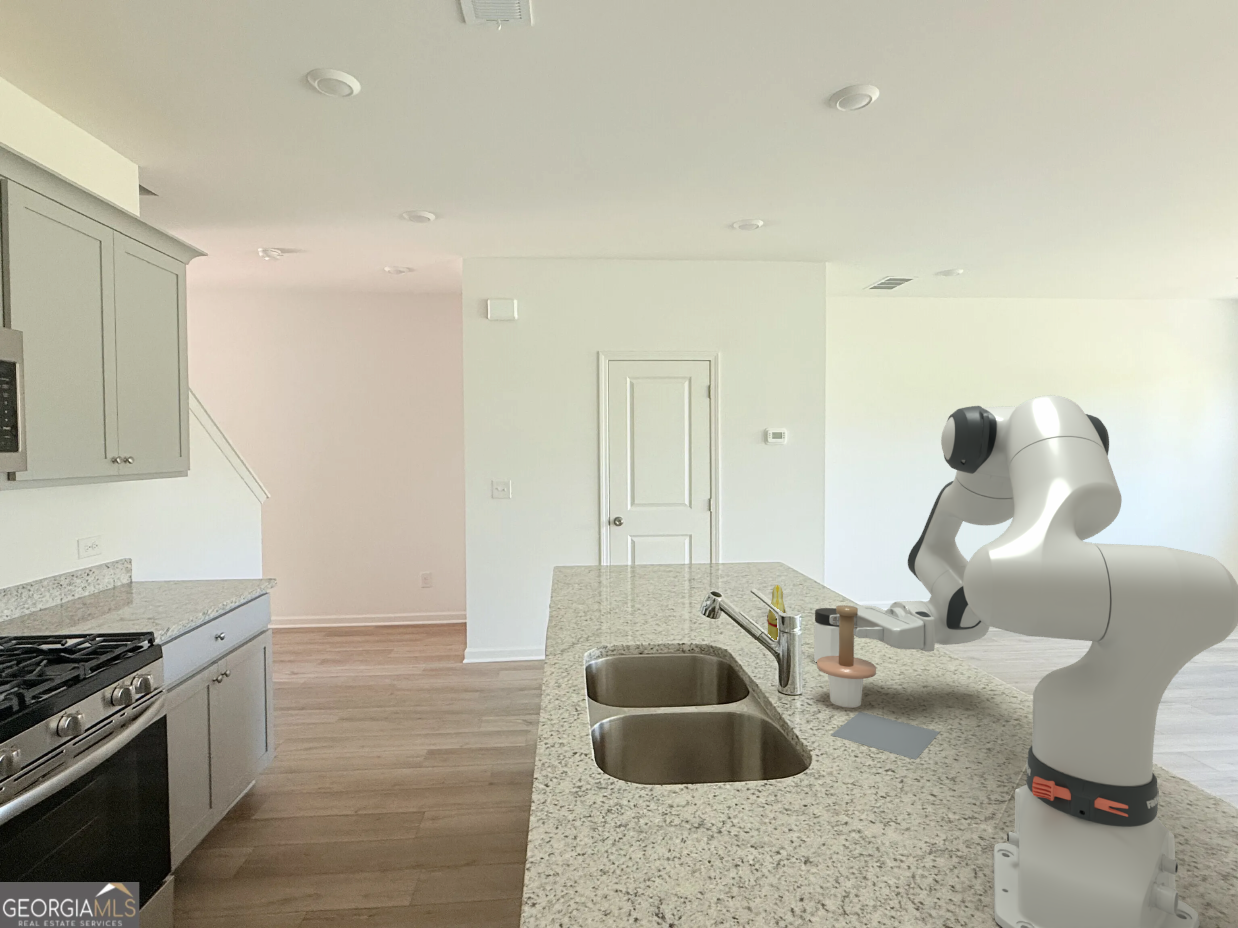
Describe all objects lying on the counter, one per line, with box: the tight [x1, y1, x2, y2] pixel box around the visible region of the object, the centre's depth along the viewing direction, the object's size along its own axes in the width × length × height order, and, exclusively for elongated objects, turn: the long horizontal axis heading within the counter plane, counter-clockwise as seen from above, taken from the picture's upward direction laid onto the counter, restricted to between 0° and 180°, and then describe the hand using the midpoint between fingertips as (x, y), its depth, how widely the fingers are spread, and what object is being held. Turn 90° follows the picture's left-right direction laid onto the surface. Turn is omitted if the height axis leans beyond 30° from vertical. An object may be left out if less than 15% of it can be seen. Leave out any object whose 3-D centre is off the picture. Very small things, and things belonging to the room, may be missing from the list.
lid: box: [816, 604, 877, 680], centre depth 129 cm, size 11×11×12 cm
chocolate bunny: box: [766, 584, 787, 640], centre depth 173 cm, size 7×11×15 cm, turn 166°
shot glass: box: [827, 674, 864, 708], centre depth 129 cm, size 7×7×7 cm
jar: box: [813, 607, 839, 663], centre depth 156 cm, size 9×8×12 cm
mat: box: [830, 710, 941, 761], centre depth 114 cm, size 14×14×1 cm
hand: (842, 626), depth 129 cm, fingers open, 8 cm apart
